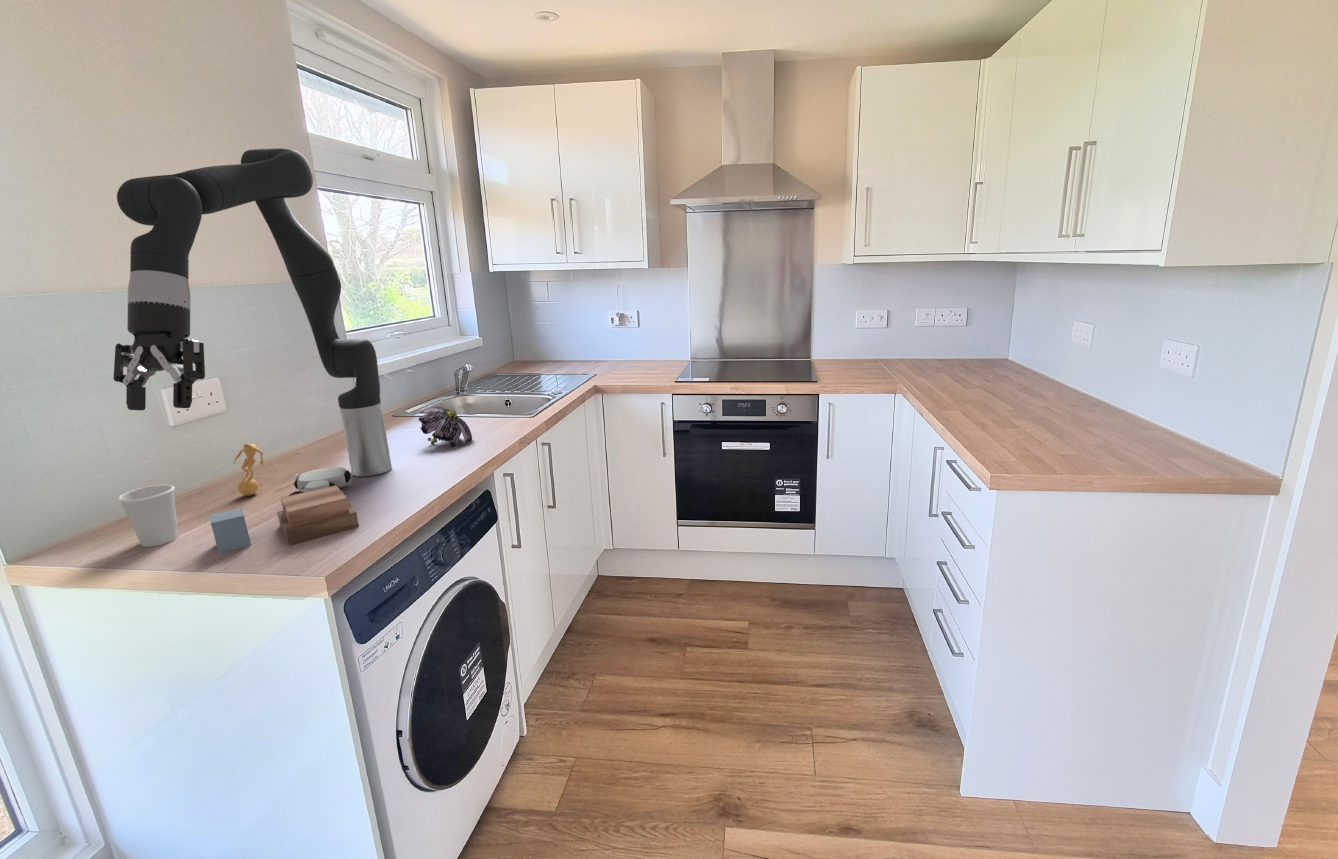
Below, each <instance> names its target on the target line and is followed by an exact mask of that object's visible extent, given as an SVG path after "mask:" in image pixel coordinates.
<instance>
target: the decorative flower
mask: <svg viewBox="0 0 1338 859" xmlns="http://www.w3.org/2000/svg"><path fill="white" fill-rule="evenodd" d="M420 413H421V414H422V415H421V416H419V417H418V418H417V419H418V422H420V423H421V427H420V431H421V433H423V434H425V435H428V434H431V433H432V434H431V437H430V436H429V437H428V438H427V441H428V442H430V444H431V445H435V443H438V441H439V442H440V441H442V442H444V441H445V442H448V443H449V447H452V448H455V447H456V446H457V445H458V443H459V441H460V437H461V435H462V436H463V439H464V441H465V444H468V443H471V441H472V440H473V435H472V432H471V430H470V427H469V426H468V424H467V423H466V421H465V420H464V419H463V418H460V417H459V416H458V415H457V412H456V411H454V410H450V409H448V408H445V407H441V406H435V407H434V406H433V407H428V408H426V409H424V410H422V411H421V412H420ZM423 413H425V414H423ZM432 437H433V438H432Z"/></svg>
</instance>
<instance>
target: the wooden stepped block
mask: <svg viewBox="0 0 1338 859" xmlns="http://www.w3.org/2000/svg"><path fill="white" fill-rule="evenodd" d="M340 489H341V488H340ZM340 489H339V488H338V487H337V486H336V485H335V486H331V487H326V488H322V489H317V490H313V491H309V492H304V493H300V494H295V495H291V496H289V495H287V496H284V497H280V501H281V507H282V510H279V511H277V513H276V514H277V518H278V522H279V526H280V529H281V530H282V533H283V535H284V537H285V539H286V541H287V544H288V546H291V545H294V544H298V543H302V542H306V541H309V540H314V539H317V538H320V537H323V536H329V535H332V534H335V533H336V534H337V533H339V532H340V533H341V532H343V531H348V530H351V529H354V528H358V527H359V526H360V524H359V519H358V514H357V511H356V510H355V509H354V507H353V506H351V504H350V503H349V502H348V498H347V496H346V495H345V494H344V492H343V491H342V492H343V493H342V492H341V490H342V489H341V490H340Z"/></svg>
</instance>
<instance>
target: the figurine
mask: <svg viewBox="0 0 1338 859" xmlns="http://www.w3.org/2000/svg"><path fill="white" fill-rule="evenodd" d="M243 452H244V454H245V456H246V458H244V460H243V463H242V465H241V466H240V468H241V470H242V471H243V472H245V473H246V474H245V477H243V478H242V480H241V481H240V482H238V484H237V490H238V492H239V493H240V495H242V496H246V497H249V496H250V497H251V496H252V495H254V494H256V493H257V492H258V490H259V488H260V486H259V482H257V480H256V479H254V478H253V477H254V473H255V470H254V469H252V468H253V467H254V465H255V463H256V459H255V458H254V457H255V455H256V453H259V455H260V461H259V465H260V466H262V465H264V452H263V451H262V450H261V449H259V448H258V446H257V445H256V444H255V443H248V442H244V444H243V448H242V449H241V450H240V451H239V453H238V454H237V455H236V457H235V459H234V461H233V464H236V461H237V460H238V459H239V458H240V457H241V455H242V454H243ZM250 473H251V474H250Z"/></svg>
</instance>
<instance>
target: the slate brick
mask: <svg viewBox="0 0 1338 859" xmlns="http://www.w3.org/2000/svg"><path fill="white" fill-rule="evenodd" d="M243 511H244V510H243V508H242V507H239V508H235V509H231V510H227V511H222V512H218V513H213V514H210V515H209V520H210V525H211V529H212V533H213V537H214V541H215V544H216V549H217V552H218V554H221V553H225V552H229V551H232V550H236V549H237V550H238V549H240V548H244V547H249V546H251V545H252V542H251V539H250V534H249V531H248V527H247V523H246V522H247V521H246V518H245V515H244V512H243Z"/></svg>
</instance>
